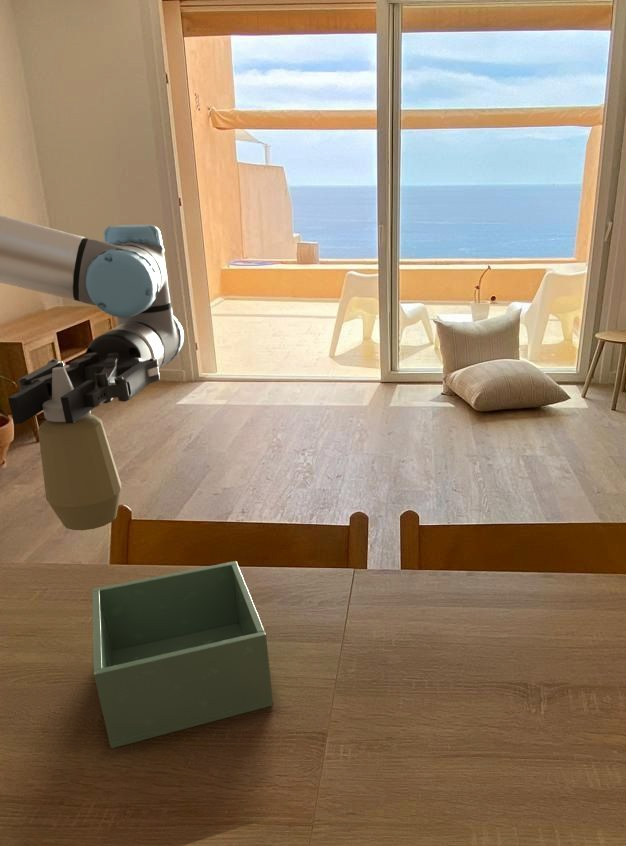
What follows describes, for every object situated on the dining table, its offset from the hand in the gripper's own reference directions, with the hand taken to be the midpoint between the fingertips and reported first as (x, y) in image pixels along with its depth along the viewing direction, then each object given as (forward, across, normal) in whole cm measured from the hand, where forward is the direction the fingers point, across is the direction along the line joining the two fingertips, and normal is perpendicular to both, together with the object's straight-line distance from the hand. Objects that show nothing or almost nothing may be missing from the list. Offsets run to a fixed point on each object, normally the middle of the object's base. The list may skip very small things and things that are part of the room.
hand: (41, 410), depth 70 cm
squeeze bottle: (-5, 0, -15) cm, 16 cm away
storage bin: (-1, -10, -34) cm, 36 cm away
